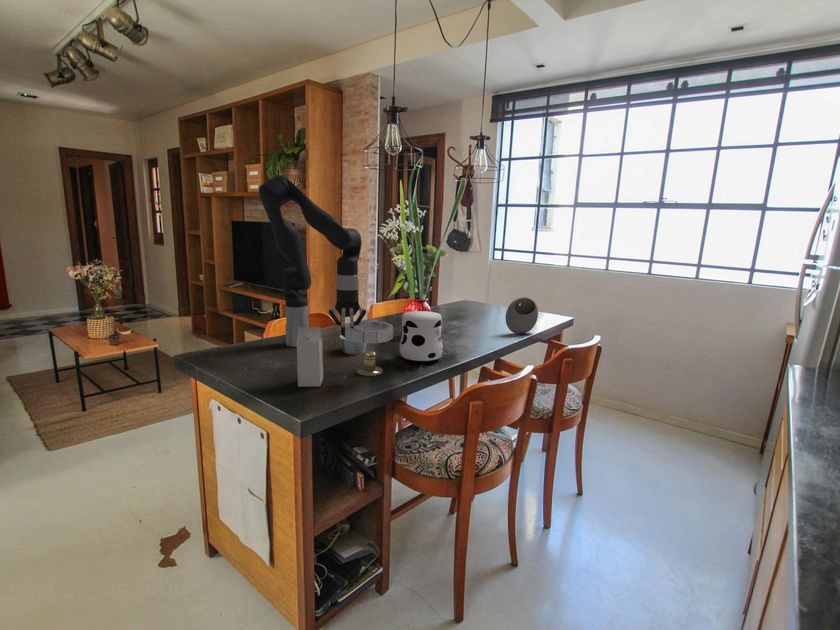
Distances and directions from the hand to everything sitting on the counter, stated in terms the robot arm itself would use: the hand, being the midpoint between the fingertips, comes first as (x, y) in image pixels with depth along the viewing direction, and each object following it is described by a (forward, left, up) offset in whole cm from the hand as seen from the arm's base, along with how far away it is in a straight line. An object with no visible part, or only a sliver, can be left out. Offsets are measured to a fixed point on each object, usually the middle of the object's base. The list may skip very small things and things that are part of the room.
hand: (347, 336), depth 150 cm
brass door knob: (+8, 0, -13) cm, 15 cm away
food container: (+3, +27, -14) cm, 30 cm away
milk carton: (-12, -9, -14) cm, 20 cm away
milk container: (+29, +14, -14) cm, 35 cm away
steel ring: (+7, 0, 0) cm, 8 cm away
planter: (+87, +51, -14) cm, 101 cm away
